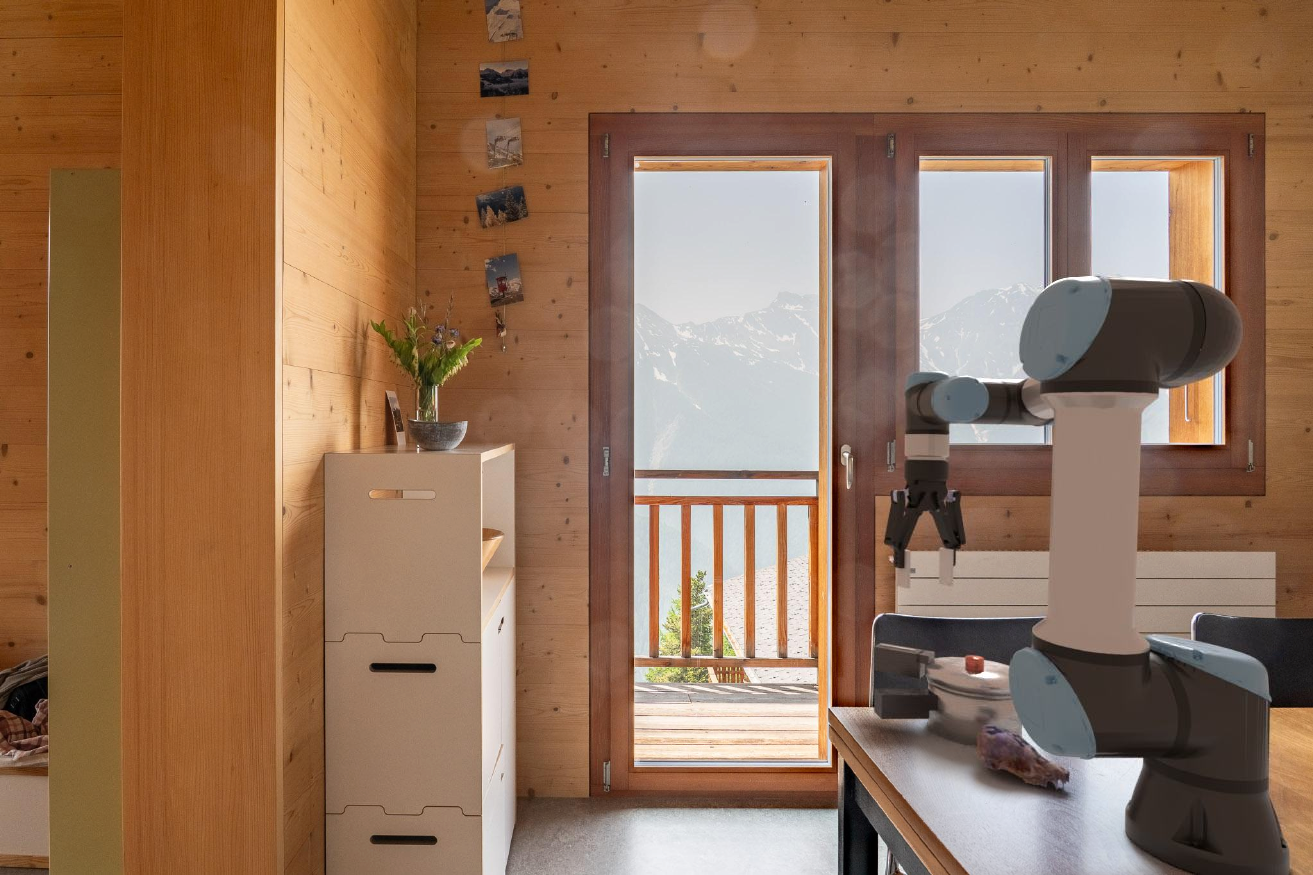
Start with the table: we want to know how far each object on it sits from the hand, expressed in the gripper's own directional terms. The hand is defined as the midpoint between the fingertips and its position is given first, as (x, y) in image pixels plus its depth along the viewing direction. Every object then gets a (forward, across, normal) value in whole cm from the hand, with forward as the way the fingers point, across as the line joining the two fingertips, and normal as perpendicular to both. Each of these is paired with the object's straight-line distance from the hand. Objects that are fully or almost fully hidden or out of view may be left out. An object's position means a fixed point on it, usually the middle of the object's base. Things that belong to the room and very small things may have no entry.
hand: (924, 585), depth 132 cm
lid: (+14, +2, +9) cm, 17 cm away
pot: (+21, +4, +11) cm, 24 cm away
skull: (+22, +7, +28) cm, 36 cm away
